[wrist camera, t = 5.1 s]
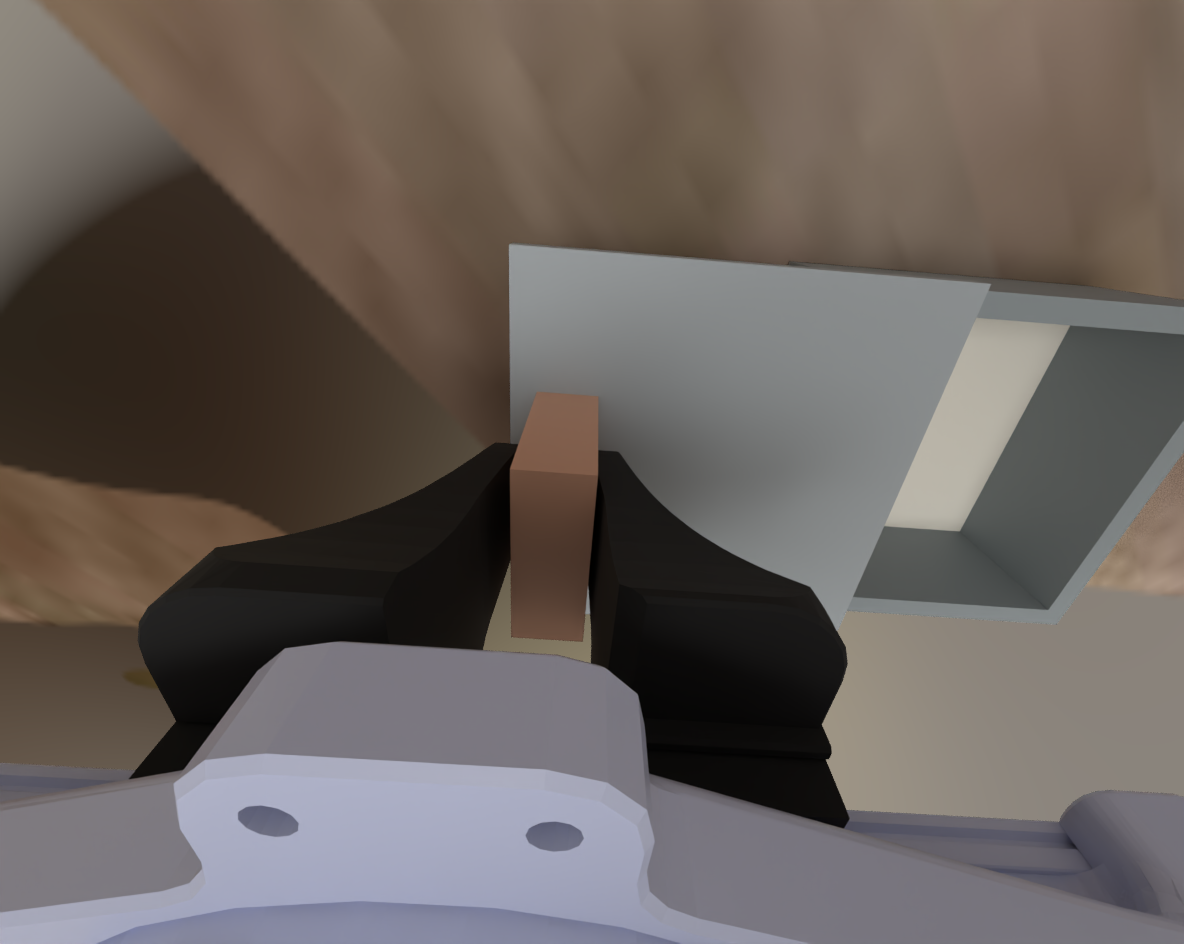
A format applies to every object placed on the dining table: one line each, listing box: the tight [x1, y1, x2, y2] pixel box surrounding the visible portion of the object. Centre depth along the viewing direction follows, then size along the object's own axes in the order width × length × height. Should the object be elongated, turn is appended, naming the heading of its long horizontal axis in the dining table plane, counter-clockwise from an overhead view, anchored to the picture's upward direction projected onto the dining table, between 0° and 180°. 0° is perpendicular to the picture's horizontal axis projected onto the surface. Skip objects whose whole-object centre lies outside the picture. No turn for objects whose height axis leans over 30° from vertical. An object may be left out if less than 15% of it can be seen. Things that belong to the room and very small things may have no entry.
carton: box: [788, 261, 1184, 624], centre depth 16 cm, size 10×10×5 cm
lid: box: [509, 243, 991, 642], centre depth 11 cm, size 10×10×5 cm
